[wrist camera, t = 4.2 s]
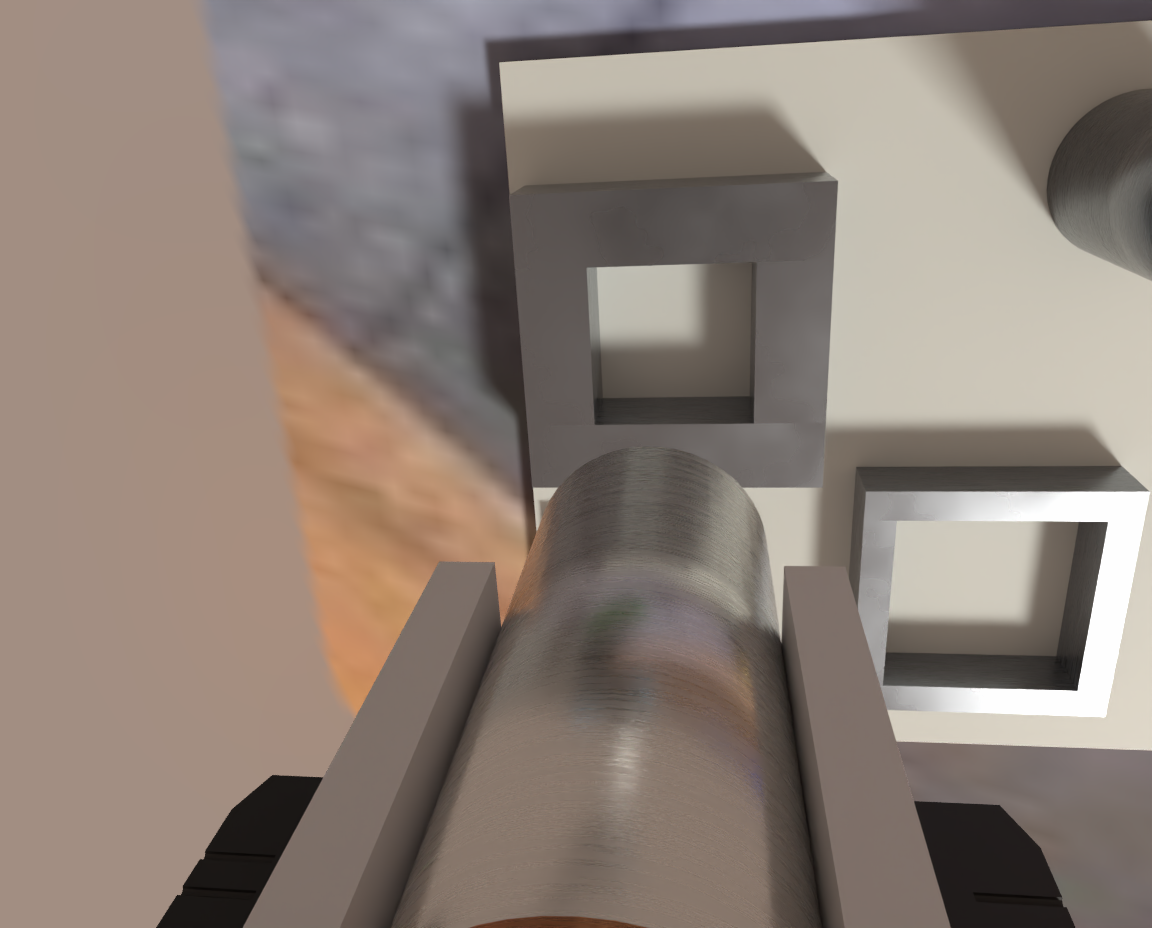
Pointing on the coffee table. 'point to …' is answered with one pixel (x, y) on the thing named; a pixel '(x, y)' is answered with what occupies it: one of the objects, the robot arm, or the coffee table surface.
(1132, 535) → the socket
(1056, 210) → the cylinder
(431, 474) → the coffee table surface
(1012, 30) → the dock board
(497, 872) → the lock pin
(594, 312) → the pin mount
